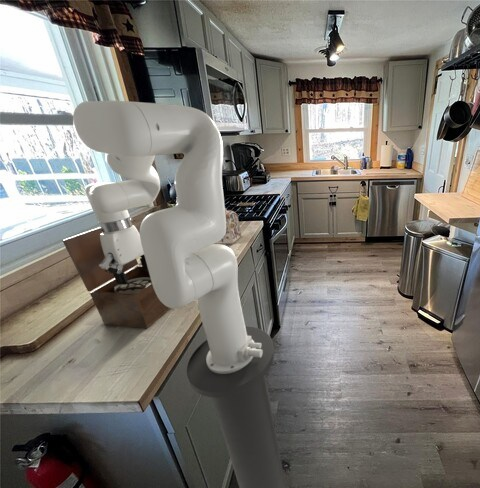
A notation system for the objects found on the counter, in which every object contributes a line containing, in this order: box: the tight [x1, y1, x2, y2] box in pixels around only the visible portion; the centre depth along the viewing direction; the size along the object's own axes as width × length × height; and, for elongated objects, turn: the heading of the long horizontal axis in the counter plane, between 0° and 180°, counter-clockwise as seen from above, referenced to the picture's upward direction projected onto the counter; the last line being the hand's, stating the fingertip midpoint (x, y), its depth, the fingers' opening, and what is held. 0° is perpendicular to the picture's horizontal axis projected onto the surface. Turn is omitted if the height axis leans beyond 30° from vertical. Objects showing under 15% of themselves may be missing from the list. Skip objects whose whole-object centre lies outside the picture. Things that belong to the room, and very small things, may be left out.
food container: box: [114, 277, 152, 294], centre depth 86 cm, size 12×6×10 cm, turn 94°
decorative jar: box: [214, 207, 242, 245], centre depth 141 cm, size 12×12×18 cm
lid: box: [61, 226, 139, 292], centre depth 81 cm, size 16×18×1 cm
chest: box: [89, 264, 171, 329], centre depth 86 cm, size 16×18×12 cm
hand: (136, 276), depth 83 cm, fingers open, 9 cm apart
